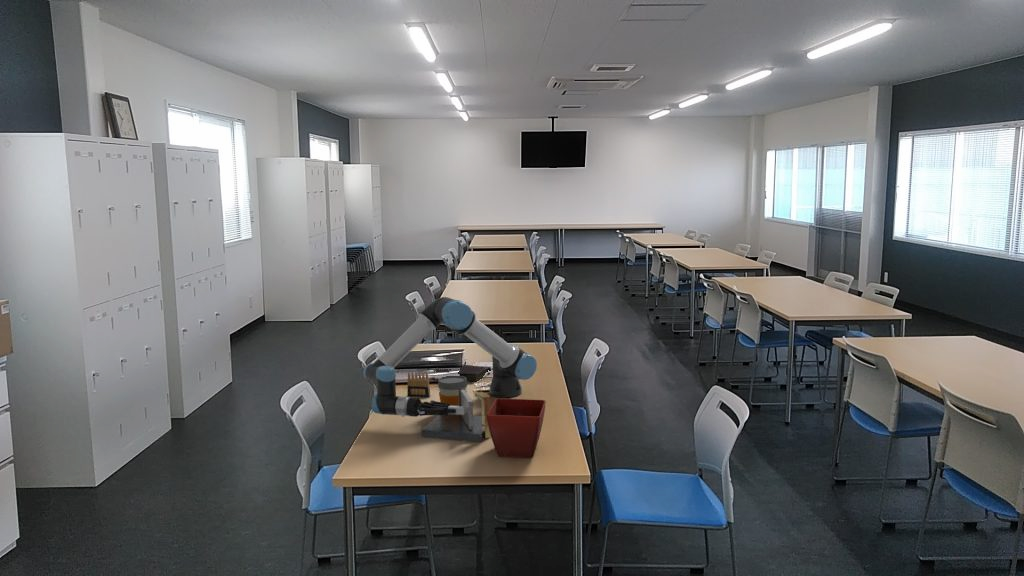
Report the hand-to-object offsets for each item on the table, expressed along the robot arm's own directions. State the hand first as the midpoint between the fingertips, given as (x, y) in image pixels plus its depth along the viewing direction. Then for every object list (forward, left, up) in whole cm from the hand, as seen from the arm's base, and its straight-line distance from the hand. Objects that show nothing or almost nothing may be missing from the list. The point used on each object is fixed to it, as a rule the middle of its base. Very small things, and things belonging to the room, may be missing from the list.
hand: (464, 410), depth 272 cm
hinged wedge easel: (-1, -4, -6) cm, 8 cm away
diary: (-12, -83, -10) cm, 85 cm away
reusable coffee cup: (+1, -26, -9) cm, 28 cm away
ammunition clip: (+13, -55, -10) cm, 57 cm away
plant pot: (-15, +24, -10) cm, 30 cm away
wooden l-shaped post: (-7, +4, -9) cm, 12 cm away
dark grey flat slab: (+2, -4, -9) cm, 10 cm away
